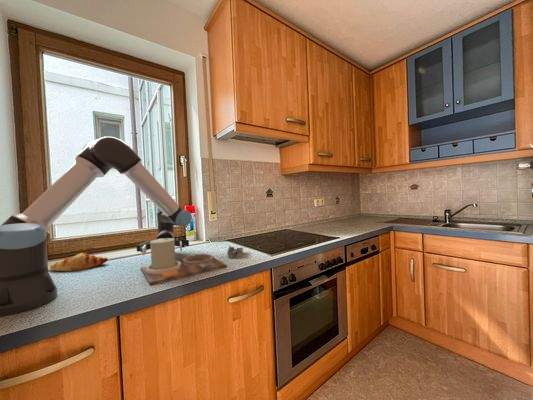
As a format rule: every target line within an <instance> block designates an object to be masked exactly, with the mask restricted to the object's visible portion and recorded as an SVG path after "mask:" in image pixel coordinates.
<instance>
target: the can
mask: <svg viewBox="0 0 533 400" xmlns="http://www.w3.org/2000/svg"><path fill="white" fill-rule="evenodd" d="M175 240H176V239H175V238H174V239H173V238H163V239H157V238H156V239H152V240H151V241H150V245H151V249H150V260H151V264H152V269H154V270H159V269H167V268H171V267H174V266H176V263H175V260H176V251H175V250H176V246H175Z"/></svg>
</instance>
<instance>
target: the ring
mask: <svg viewBox="0 0 533 400" xmlns="http://www.w3.org/2000/svg"><path fill="white" fill-rule="evenodd" d="M175 263H176V266H174V267H171V268H167V269H159V270H154V269H151V268H152V263H151V264H150V263H149V264H148V265H146V266H147V267H146V272H147V273H149V274H162V276H163V277H164V278H167V277H171V276H176V275H178V271H177V270H178V269H179V268H180V267H181V262H180V261H176V259H175Z"/></svg>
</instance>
